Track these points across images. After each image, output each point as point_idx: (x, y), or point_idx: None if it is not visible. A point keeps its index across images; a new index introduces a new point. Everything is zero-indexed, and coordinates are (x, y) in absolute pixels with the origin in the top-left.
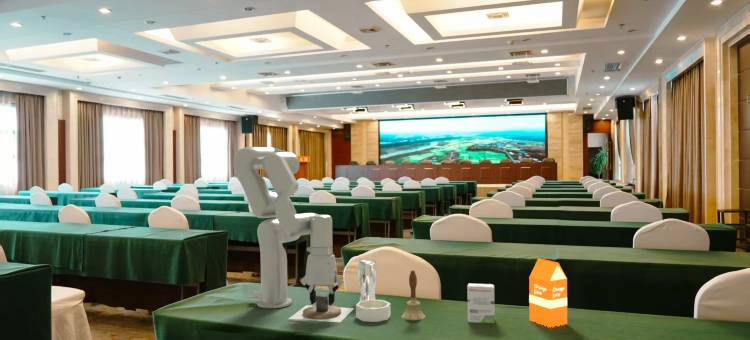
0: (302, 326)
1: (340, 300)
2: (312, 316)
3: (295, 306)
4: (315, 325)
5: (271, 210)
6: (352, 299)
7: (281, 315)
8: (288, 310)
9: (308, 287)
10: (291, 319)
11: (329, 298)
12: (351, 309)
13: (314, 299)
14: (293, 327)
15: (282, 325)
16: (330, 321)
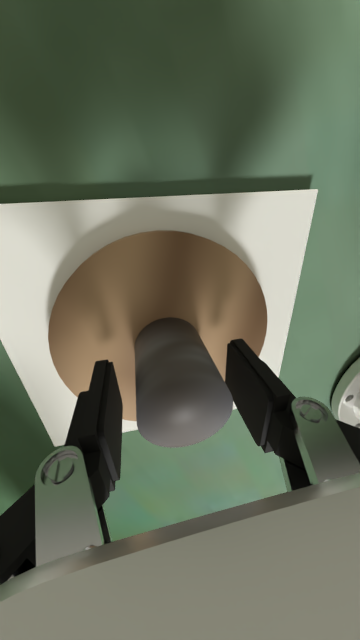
0: (188, 67)
1: (175, 485)
2: (179, 233)
3: (311, 386)
4: (105, 123)
5: None
6: (139, 506)
7: (353, 266)
8: (330, 338)
9: (351, 444)
10: (297, 190)
11: (95, 397)
12: (56, 431)
13: (235, 380)
14: (246, 16)
15: (331, 60)
16: (23, 206)
